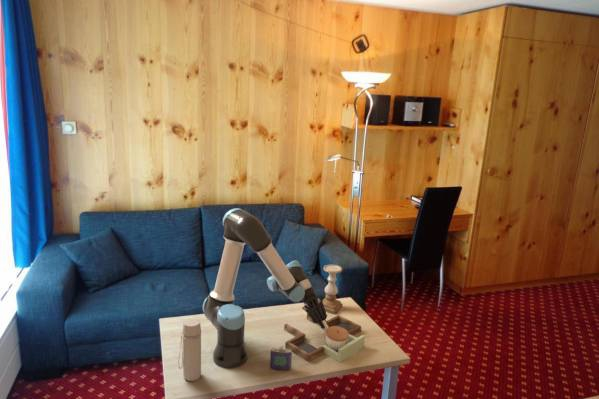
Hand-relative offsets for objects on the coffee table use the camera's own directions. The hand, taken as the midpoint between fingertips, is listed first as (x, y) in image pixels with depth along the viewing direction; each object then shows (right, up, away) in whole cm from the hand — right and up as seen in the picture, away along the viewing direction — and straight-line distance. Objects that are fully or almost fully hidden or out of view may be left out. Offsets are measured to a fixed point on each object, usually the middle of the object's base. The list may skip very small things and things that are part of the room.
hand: (328, 333), depth 216 cm
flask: (-22, -9, -22) cm, 32 cm away
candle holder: (+3, +4, +34) cm, 34 cm away
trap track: (-3, -3, +3) cm, 5 cm away
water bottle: (-59, -9, -31) cm, 67 cm away
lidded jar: (+3, -5, -4) cm, 7 cm away
